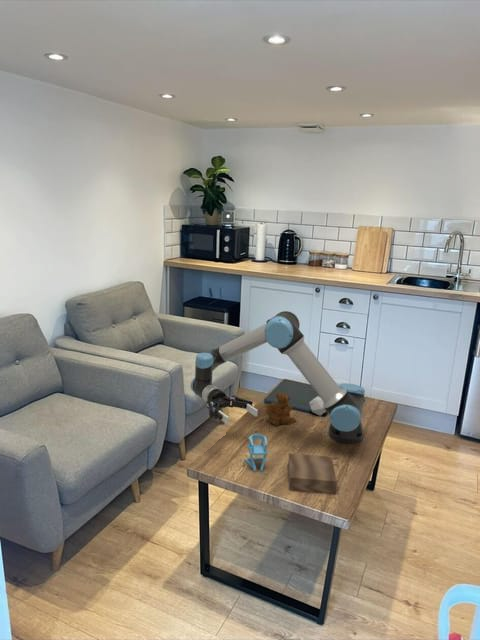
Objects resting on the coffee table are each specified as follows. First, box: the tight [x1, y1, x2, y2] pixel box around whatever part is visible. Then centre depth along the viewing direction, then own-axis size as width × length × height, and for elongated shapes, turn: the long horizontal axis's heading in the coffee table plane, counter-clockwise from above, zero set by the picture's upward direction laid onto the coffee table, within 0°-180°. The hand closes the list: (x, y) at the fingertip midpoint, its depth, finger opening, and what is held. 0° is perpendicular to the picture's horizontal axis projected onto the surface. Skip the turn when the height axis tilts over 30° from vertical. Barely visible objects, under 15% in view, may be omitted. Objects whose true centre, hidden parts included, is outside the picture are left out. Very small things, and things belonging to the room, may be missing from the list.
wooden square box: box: [287, 453, 338, 495], centre depth 169 cm, size 16×16×5 cm
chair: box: [244, 433, 269, 472], centre depth 176 cm, size 8×8×12 cm
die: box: [308, 395, 327, 417], centre depth 223 cm, size 8×9×10 cm
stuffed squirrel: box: [264, 392, 297, 427], centre depth 212 cm, size 10×14×13 cm
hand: (242, 417), depth 181 cm, fingers open, 13 cm apart
